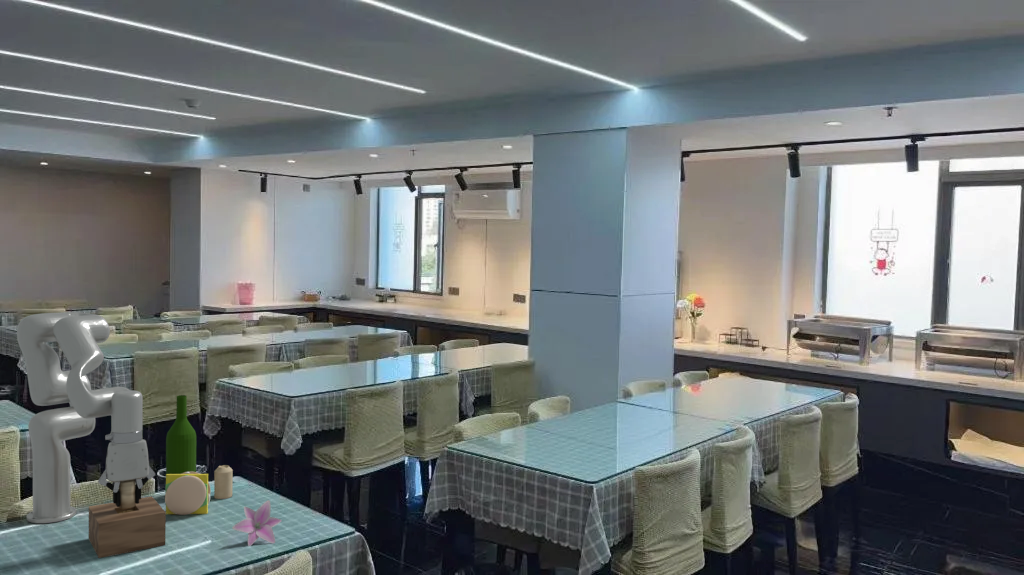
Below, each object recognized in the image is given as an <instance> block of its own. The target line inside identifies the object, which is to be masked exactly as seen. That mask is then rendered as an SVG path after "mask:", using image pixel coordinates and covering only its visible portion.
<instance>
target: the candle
mask: <svg viewBox="0 0 1024 575" xmlns="http://www.w3.org/2000/svg"><path fill="white" fill-rule="evenodd" d="M233 471H234V470H233V469H232V467H230V465H228V464H223V465H219V466H218V467H217V468H216V469H215V470H214V472H213V473H214V475H213V476H214V485H213V487H214V488H213V489H214V492H213V494H214V499H217V500H225V499H230V498H232V497H233V486H234V485H233Z"/></svg>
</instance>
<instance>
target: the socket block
mask: <svg viewBox="0 0 1024 575" xmlns="http://www.w3.org/2000/svg"><path fill="white" fill-rule="evenodd" d="M132 509H134V510H135V511H132V512H126V513H120V514H118V513H117V512H120V511H126V510H132ZM166 516H167V514H166V510H164V509H163V507H162V506H161V505H160V504H159V503H158V501H157V500H156V499H155V498H154V497H153V496H146V497H145V496H144V497H141V499H139V504H137V503H135V506H134V507H132V508H127V509H121V508H119V507H117V506H116V504H115V503H113V502H107V503H103V504H102V503H101V504H95V505H89V506H88V540H89V542H90V544H91V546H92V548H93V550H94V552H95V554H96V556H97V558H98V559H101V558H106V557H112V556H118V555H122V553H123V554H128V553H133V552H136V551H137V550H138V551H142V549H143V550H147V549H152V548H157V547H162V546H166V522H167V520H166V519H167V518H166Z"/></svg>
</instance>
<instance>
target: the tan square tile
mask: <svg viewBox="0 0 1024 575" xmlns="http://www.w3.org/2000/svg"><path fill="white" fill-rule="evenodd" d="M132 511H135V510H134V509H132V510H126V511H120V512H117V513H118V514H120V513H126V512H132Z"/></svg>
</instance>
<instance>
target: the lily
mask: <svg viewBox="0 0 1024 575" xmlns="http://www.w3.org/2000/svg"><path fill="white" fill-rule="evenodd" d="M271 508H272V507H271V500H267V501H264V503H262V504H261V506H259V507H258V508H257V510H254V509H252V508H251V507H248V506H243V511H244V515H245V518H244V519H242V520H240V521H238V522H237V523H236V524H234V525H233V526H232V530H234V531H237V532H240V533H244V534H245V533H246V534H248V535H247V546H248V547H251V546H252V545H253V544H254V543H255V542H256V541H257V540H258V539H259V538H260V539H262V540H264V541H265V542H268V543H270V544H275V543H276V538H275V534H274V530H273V527H276V526H278V524H280V523H281V522H282V521H283V520H282V519H280V518H278V517H273V516H271V512H272V511H271V510H272V509H271Z"/></svg>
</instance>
